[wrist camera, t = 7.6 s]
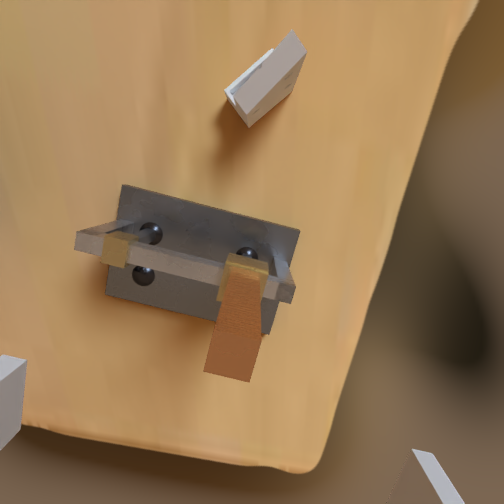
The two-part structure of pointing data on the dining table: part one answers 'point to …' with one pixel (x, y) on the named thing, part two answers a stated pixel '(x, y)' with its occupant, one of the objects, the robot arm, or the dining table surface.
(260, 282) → the sliding leg
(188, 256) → the grey bracket frame
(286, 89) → the white wedge bracket
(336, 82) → the dining table surface
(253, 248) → the bolt plate
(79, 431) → the dining table surface
